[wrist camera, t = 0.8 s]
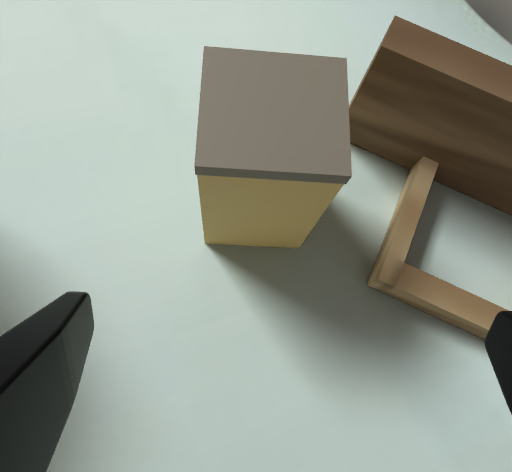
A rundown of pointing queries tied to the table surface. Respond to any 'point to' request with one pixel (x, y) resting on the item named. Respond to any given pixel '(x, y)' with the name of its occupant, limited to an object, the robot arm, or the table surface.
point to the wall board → (435, 151)
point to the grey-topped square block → (270, 144)
